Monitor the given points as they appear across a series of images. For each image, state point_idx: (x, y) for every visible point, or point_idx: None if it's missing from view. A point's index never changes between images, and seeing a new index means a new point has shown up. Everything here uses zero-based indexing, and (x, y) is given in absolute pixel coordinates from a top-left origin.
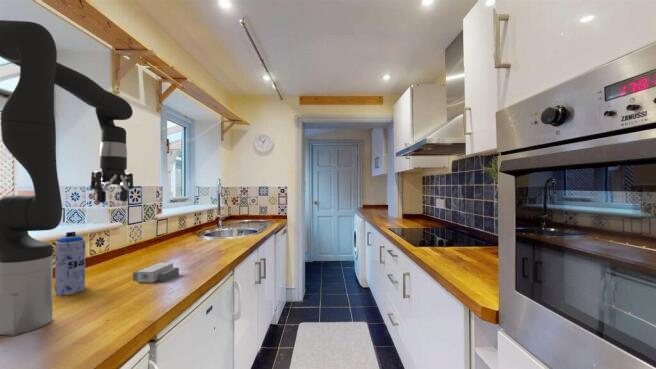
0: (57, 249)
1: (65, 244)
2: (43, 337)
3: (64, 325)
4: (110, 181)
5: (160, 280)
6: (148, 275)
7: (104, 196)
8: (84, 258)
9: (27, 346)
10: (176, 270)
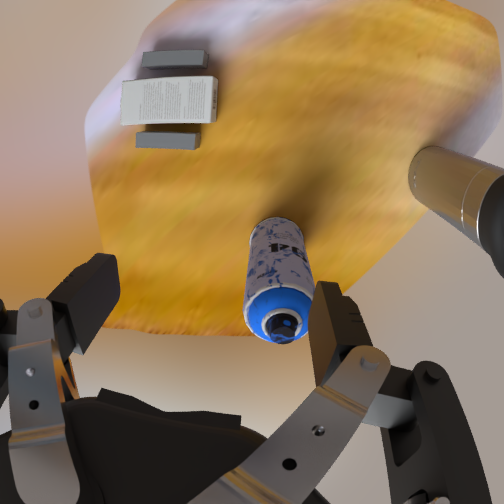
0: None
1: None
2: (463, 119)
3: (435, 115)
4: (319, 443)
5: (206, 64)
6: (214, 88)
7: (341, 308)
8: (266, 253)
9: (479, 123)
10: (155, 52)
